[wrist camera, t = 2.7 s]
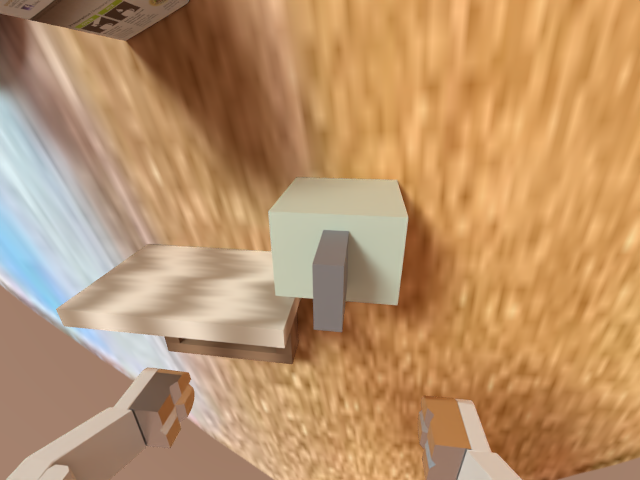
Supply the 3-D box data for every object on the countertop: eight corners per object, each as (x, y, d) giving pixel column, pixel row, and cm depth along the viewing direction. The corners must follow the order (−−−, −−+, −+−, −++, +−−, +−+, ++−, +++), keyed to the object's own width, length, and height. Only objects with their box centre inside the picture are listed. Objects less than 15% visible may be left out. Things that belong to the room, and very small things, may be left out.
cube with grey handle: (396, 179, 24) (418, 250, 14) (390, 248, 27) (403, 352, 16) (296, 177, 25) (243, 241, 15) (299, 243, 28) (256, 338, 17)
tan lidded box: (310, 254, 28) (283, 330, 19) (312, 343, 33) (291, 437, 24) (147, 244, 30) (55, 309, 21) (171, 329, 35) (104, 411, 26)
